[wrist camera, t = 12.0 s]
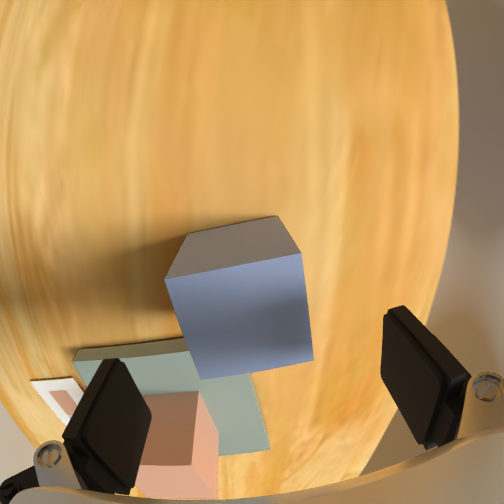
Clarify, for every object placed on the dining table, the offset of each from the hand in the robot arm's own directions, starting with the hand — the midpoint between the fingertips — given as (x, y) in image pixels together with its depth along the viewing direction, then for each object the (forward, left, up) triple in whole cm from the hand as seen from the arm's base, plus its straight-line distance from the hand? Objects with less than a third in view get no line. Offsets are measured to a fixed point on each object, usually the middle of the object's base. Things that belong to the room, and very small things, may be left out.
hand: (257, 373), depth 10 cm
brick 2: (-1, 0, -8) cm, 8 cm away
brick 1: (+9, -7, -7) cm, 13 cm away
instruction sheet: (+10, -18, -8) cm, 22 cm away
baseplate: (+9, -7, -8) cm, 14 cm away
